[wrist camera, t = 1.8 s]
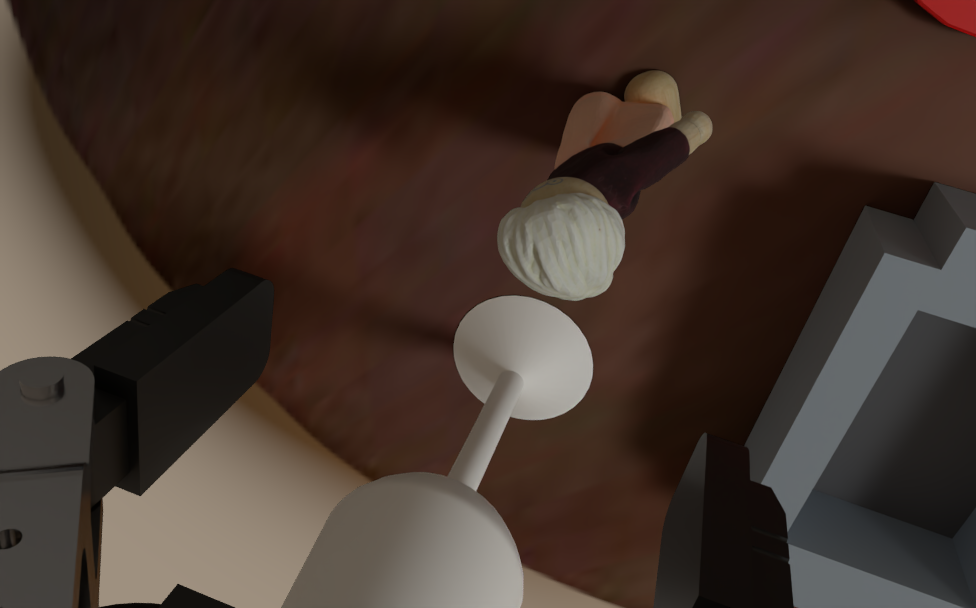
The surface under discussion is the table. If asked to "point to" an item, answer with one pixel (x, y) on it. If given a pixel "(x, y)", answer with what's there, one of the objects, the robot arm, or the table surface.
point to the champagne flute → (452, 480)
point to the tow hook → (953, 13)
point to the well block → (882, 418)
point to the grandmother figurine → (598, 186)
